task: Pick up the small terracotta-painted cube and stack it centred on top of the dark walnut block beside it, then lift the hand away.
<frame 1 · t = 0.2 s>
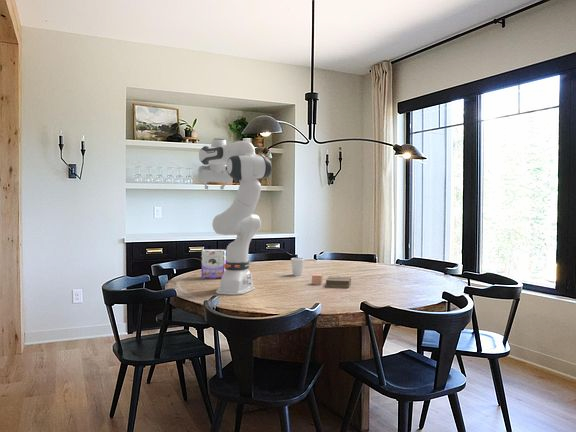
hand: (214, 189, 273), 52 cm above the table, tool tilted 20°, fingers open, 8 cm apart
candy box: (214, 278, 275), on the table
terracotta cube: (317, 283, 256), on the table
walnut block: (338, 286, 252), on the table
dixie cup: (297, 275, 284), on the table
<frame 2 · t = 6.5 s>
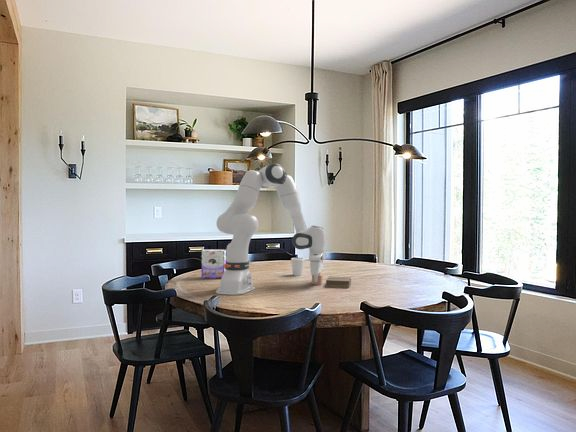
hand: (317, 280, 256), 2 cm above the table, tool pointing down, fingers closed on terracotta cube, 5 cm apart
terracotta cube: (317, 283, 256), on the table, touching gripper
everything else where it was.
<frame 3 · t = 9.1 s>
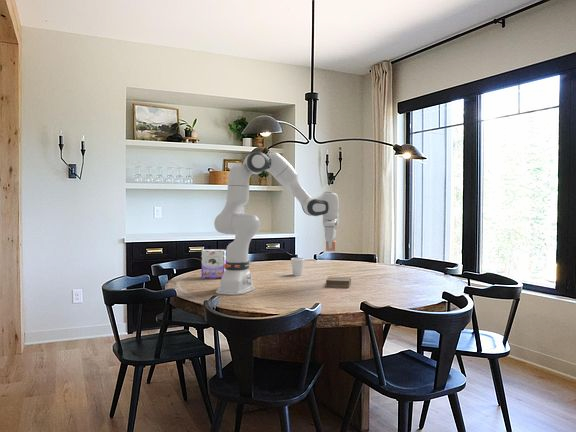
hand: (331, 247, 253), 20 cm above the table, tool pointing down, fingers closed on terracotta cube, 5 cm apart
terracotta cube: (331, 250, 253), point 19 cm above the table, touching gripper
everything else where it was.
when the fingers open (7 cm above the table, at t = 12.0 s): terracotta cube drops 1 cm, resting on walnut block.
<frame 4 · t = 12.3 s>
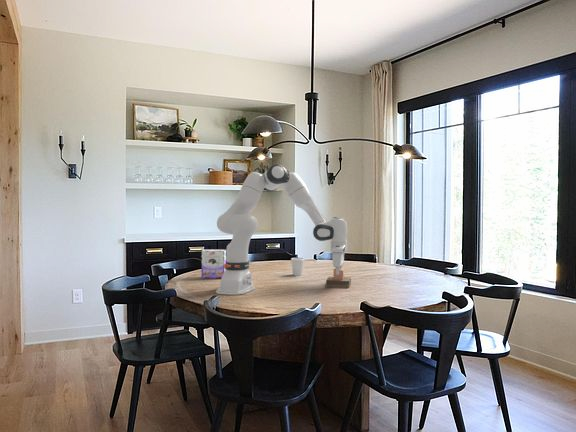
hand: (338, 273, 251), 7 cm above the table, tool pointing down, fingers open, 7 cm apart
terracotta cube: (338, 278, 252), point 4 cm above the table, touching walnut block
walnut block: (338, 286, 252), on the table, touching terracotta cube
everything else where it was.
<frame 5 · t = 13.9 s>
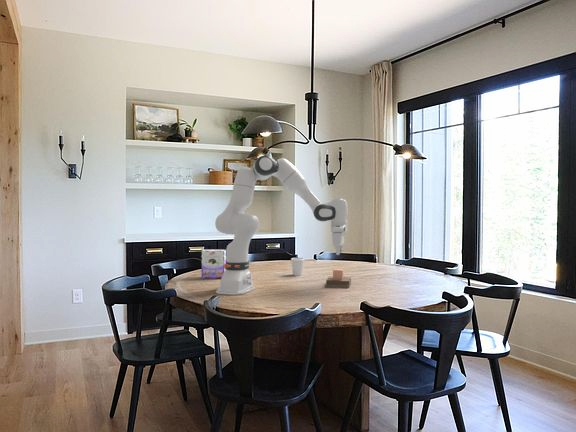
hand: (338, 253, 250), 17 cm above the table, tool pointing down, fingers open, 8 cm apart
nothing on the table moved.
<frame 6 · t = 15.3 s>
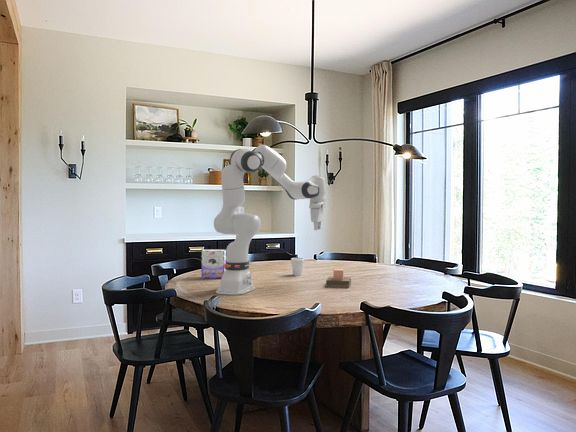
hand: (317, 229, 262), 29 cm above the table, tool pointing down, fingers open, 8 cm apart
nothing on the table moved.
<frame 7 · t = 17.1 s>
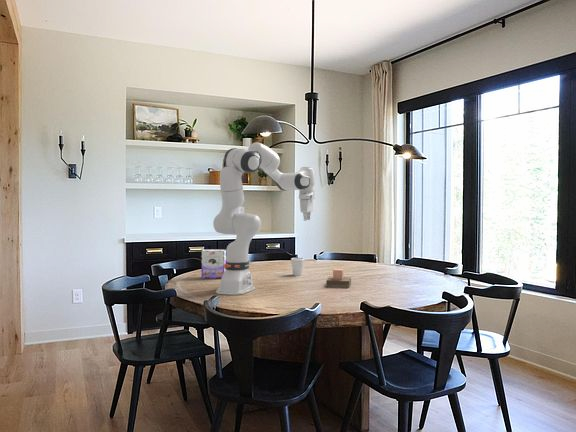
hand: (306, 220, 268), 34 cm above the table, tool pointing down, fingers open, 8 cm apart
terracotta cube: (338, 278, 252), point 4 cm above the table
walnut block: (338, 286, 252), on the table
everything else where it was.
at the end: terracotta cube inside the target area on the walnut block (0.5 cm from its centre), point 4.0 cm above the walnut block's base; terracotta cube tilted 0°; terracotta cube touching walnut block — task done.
